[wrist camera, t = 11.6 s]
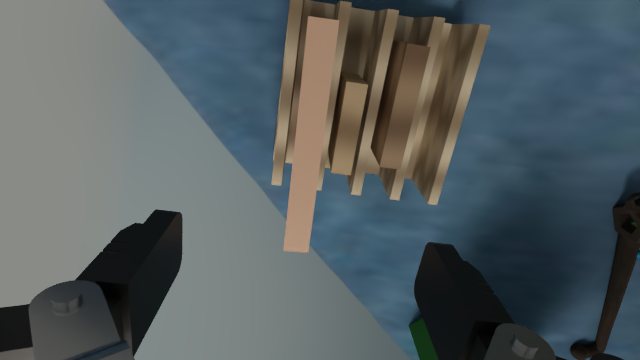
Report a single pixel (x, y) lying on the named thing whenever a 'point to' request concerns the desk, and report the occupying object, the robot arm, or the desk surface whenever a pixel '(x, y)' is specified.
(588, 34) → the desk surface
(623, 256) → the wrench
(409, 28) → the rack
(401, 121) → the offcut tall
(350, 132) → the offcut short
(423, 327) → the hardback book
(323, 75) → the tall sheet
